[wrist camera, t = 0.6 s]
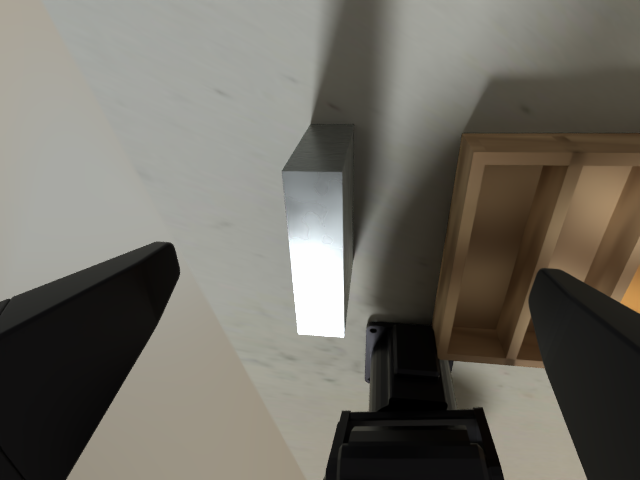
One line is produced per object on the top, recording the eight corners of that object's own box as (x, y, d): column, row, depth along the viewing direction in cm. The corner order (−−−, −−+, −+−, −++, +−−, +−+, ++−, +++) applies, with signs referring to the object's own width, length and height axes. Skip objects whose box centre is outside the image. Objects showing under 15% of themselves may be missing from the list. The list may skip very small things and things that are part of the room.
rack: (633, 340, 25) (662, 379, 22) (431, 326, 27) (436, 360, 24) (750, 133, 18) (814, 154, 15) (462, 133, 20) (474, 153, 17)
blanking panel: (353, 259, 25) (344, 337, 19) (317, 258, 25) (298, 333, 19) (353, 124, 20) (342, 171, 14) (310, 124, 21) (281, 171, 15)
